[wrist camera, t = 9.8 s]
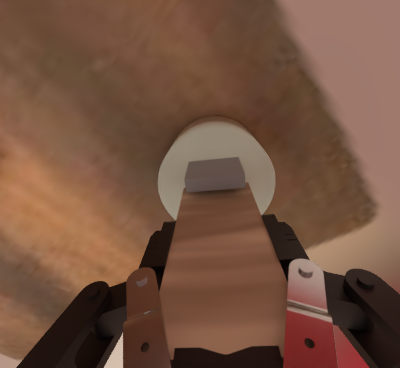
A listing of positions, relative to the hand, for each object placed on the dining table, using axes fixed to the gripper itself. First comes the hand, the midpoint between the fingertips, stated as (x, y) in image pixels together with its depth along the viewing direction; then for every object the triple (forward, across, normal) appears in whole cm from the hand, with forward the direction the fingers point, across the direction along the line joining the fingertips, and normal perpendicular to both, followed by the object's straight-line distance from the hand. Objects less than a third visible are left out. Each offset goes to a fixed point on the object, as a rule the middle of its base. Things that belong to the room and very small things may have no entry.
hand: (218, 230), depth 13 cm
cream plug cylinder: (+13, 0, 0) cm, 13 cm away
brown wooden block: (+4, 0, 0) cm, 4 cm away
